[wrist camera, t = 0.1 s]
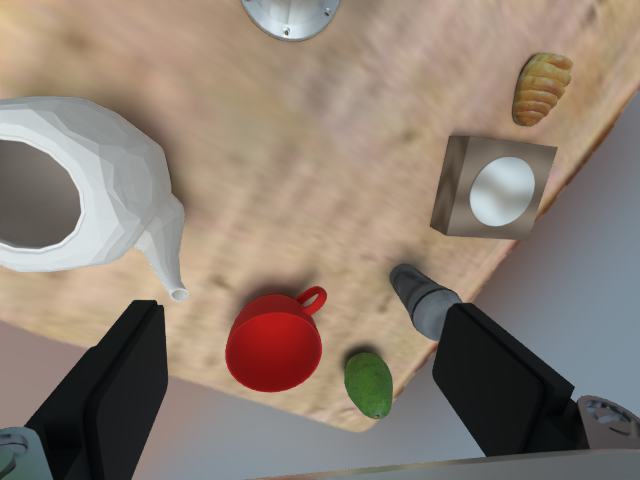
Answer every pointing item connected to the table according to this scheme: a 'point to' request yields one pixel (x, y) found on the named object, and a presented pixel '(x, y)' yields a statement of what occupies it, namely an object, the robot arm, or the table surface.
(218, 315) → the table surface
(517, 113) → the pastry
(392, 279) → the beverage cup
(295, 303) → the ceramic cup
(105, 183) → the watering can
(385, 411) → the fruit
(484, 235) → the walnut stand
